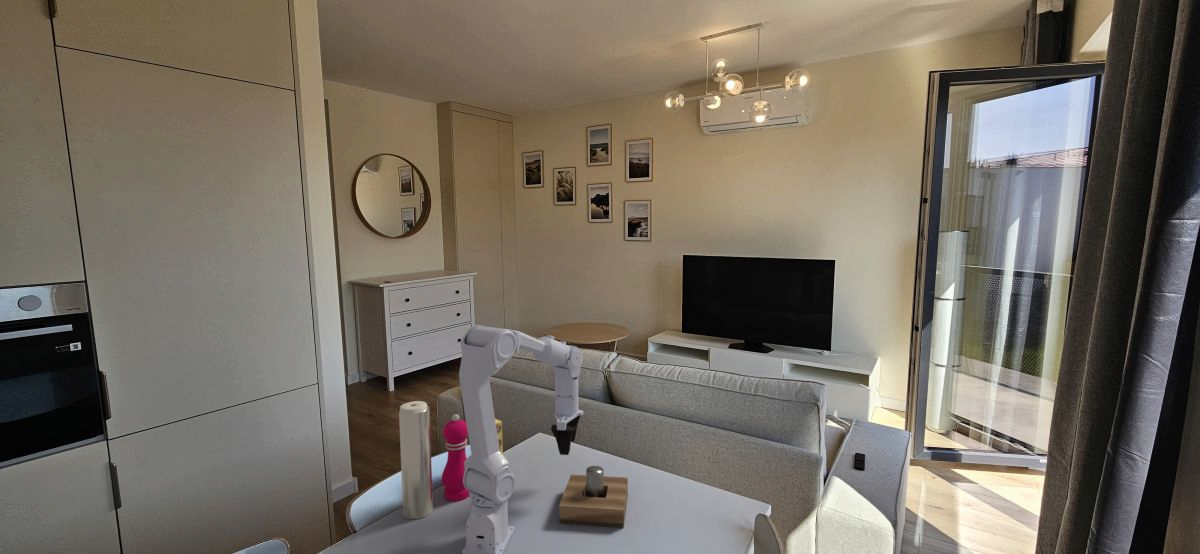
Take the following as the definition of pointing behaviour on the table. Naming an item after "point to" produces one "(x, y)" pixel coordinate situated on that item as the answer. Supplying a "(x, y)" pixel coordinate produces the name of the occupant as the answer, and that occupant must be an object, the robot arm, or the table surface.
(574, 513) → the bore block
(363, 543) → the table surface
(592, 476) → the pin
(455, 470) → the pepper mill
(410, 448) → the silver cream cylinder
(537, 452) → the table surface
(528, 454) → the table surface
